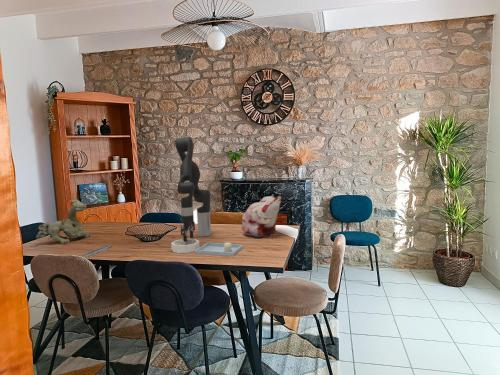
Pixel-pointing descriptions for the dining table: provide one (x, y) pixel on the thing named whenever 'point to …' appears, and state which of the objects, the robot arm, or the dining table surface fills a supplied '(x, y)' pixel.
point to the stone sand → (227, 247)
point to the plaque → (96, 251)
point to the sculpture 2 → (261, 217)
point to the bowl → (184, 246)
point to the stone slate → (188, 242)
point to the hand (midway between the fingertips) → (188, 239)
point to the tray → (218, 249)
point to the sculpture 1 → (65, 226)
